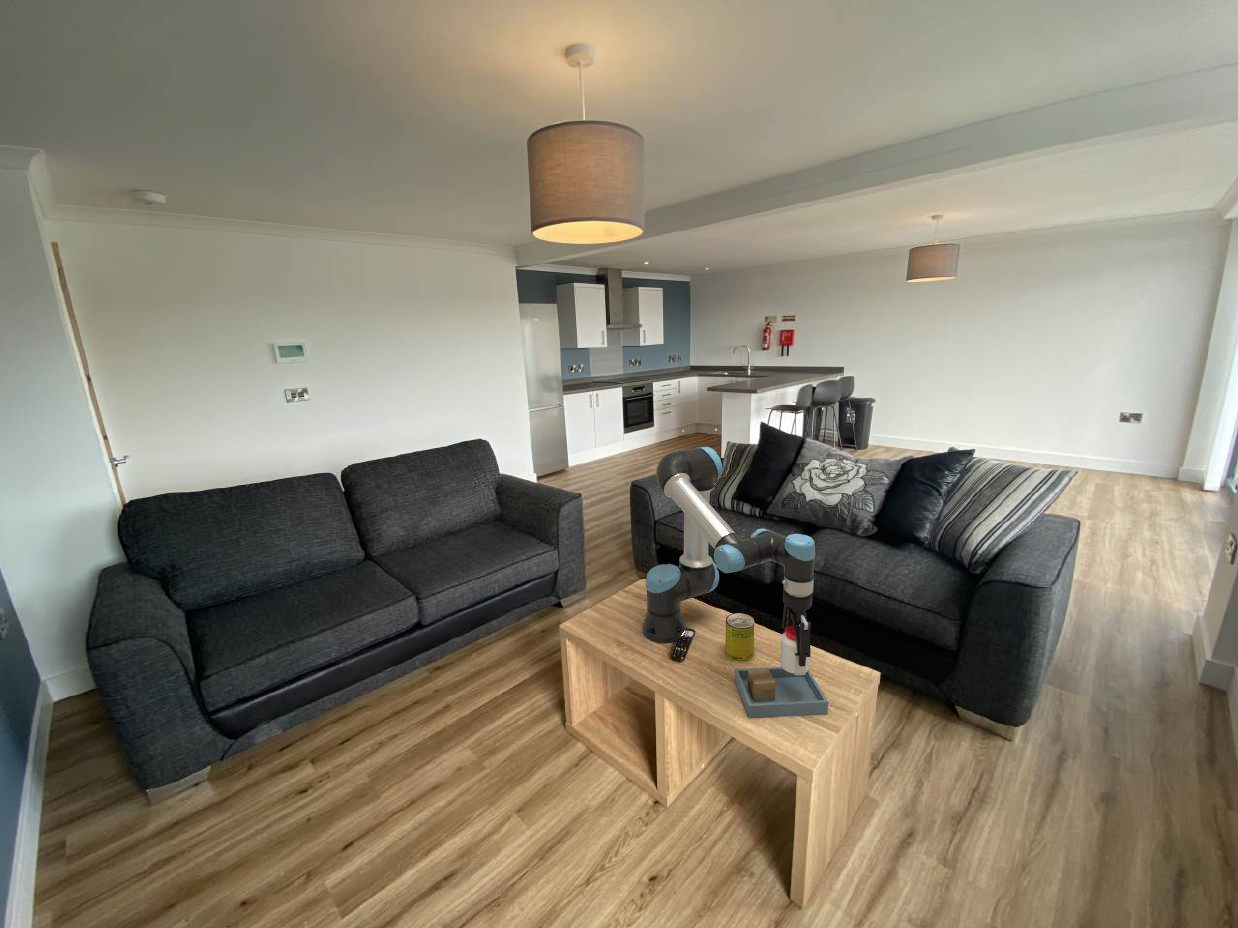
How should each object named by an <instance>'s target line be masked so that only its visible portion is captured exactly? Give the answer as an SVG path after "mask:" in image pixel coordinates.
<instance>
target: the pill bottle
mask: <svg viewBox="0 0 1238 928" xmlns="http://www.w3.org/2000/svg"><path fill="white" fill-rule="evenodd" d="M780 636H781V637H780V657H779V658H780V659H779V660H780V661H779V662H780V663H779V664H780V667H782V668H783V669H784V670H786V671H787V672H790V673H793V674H795V653H797V645H796V635H795V629H794V628H793V626H788V627H787V628H786V632H785V633H784V632H783V633H782V635H780ZM810 658H811V657H806V672H807V671H808V670H809V669H810ZM809 671H810V670H809Z"/></svg>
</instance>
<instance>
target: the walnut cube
mask: <svg viewBox="0 0 1238 928" xmlns="http://www.w3.org/2000/svg"><path fill="white" fill-rule="evenodd" d="M775 689H776V682H775V680H774V678H773V676H772V675H771V673H770V671H769V669H760V670H748V690H749V692H750V695H751V697H752V699H753V701H754V702H767V701H775Z"/></svg>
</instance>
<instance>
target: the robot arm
mask: <svg viewBox="0 0 1238 928" xmlns="http://www.w3.org/2000/svg"><path fill="white" fill-rule="evenodd" d="M722 474H723V463H722V460H721V458H720V456H719V454H718V453H717V451H716V450H715V449H713V448H711V447H709V446H702V447H701V446H696V447H693V448H687V449H681V450H675V451H671V452H668V453H666V454H665V455H664V456H662V458H661V459H660V460H659V461H658V464H657V466H656V470H655V478H656V482H657V484H658V487H659V489H660V490H661V492H662V493H663V494H664V495H665V496H666V497H667V498H670V499H672V500H673V501H674V502H675V503H676V505H677V506H678V507H679V508H680V509H681V511H682V512H683V554H681V555H680V556H679V561H678V562H679V565H678V566H677V565H676V564H675V565H674V564H671V563H667V564H665V563H663V564H662V563H661V564H659V565H656V566H654V567H652V568H650V569H649V571H648V572H647V575H646V578H645V579H646V581H645V582H646V583H645V588H646V609H647V610H646V613H645V617H644V619H643V622H642V633H643V635H644V637H646V639H648V640H650V641H652V642H656V643H660V644H661V643H662V644H667V643H668V644H669V643H674V642H677V641H679V640H680V639H679V637H680V636H681V635H682V633H683V632H684V631H685V630H686V629H687V628H686V623H685V620H684V617H683V614H682V612H681V602H684V601H686V600H689V599H693V598H695V597H698V596H701V595H706V594H708V593H711V592H713V591H714V590H715V589H716V588H717V586H718V585H719V581H720V573H719V570H720V571H721V572H722V573H724V574H729V573H735V572H740V571H742V570H744V569H747V568H751V567H753V566H757V565H761V564H764V563H767V562H770V561H772V562H774V563H776V564H779V565H780V566H783V567H784V569H783V580H782V582H781V583H782V584H783V592H782V602H783V615H782V623H781V625H782V626H781V627H782V629H784V631H783V633H785V632H786V628H787V627H788V626H793V628H794V629H795V635H796V645H797V653H795V675H805V674H806V657H810V658H811V655H812V654H811V653H812V652H811V650H812V649H811V628H812V623H811V621H807V619H808V615H807V614H808V613H807V612H806V611H807V610H809V609H810V608H812V605H813V595H814V594H813V592H814V583H815V582H814V579H815V576H814V569H815V560H816V559H815V558H816V552H815V551H816V546H815V544H816V543H815V540H814V539H813V538H812V537H811V536H809V535H806V534H802V533H793V534H789V535H787V536H784V535H782V534H780V533H777V532H775V531H773V530H770V529H767V528H758V529H756V530H755V531H754V532H753V533H751V536H750V537H749V538H745V539H741V537H740V536H739V535H737V533H736V532H735V531H734V530H733V529H732V528H731V527H730V525H729V524H728V523H727V522H726V521H725V520H724V518H722V517H721V515H720V513H718V512H717V511H716V510H715V509H714V507H713V506H712V505H711V504H710V497H711V496H710V495H711V492H712V491H713V490H714V489H715V481H716V480H718V479H719V478H720V477H721V476H722ZM709 545H710V546H711V547H712V548H713V549H714V553H713V558H712V557H711V556H710V555H709ZM686 631H687V630H686ZM678 639H679V640H678Z"/></svg>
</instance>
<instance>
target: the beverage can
mask: <svg viewBox="0 0 1238 928" xmlns="http://www.w3.org/2000/svg"><path fill="white" fill-rule="evenodd" d="M724 643H725V651H724V653H725V656H726V657H728V659H730V660H732V661H734V662H740V663H743V662H749V661H752V659H753V657H754V654H755V653H754V648H755V620H754V617H752V616H750V615H749V614H745V613H740V612H736V613H735V612H734V613H730V614H728V615H727V616H726V617H725V641H724Z"/></svg>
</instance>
